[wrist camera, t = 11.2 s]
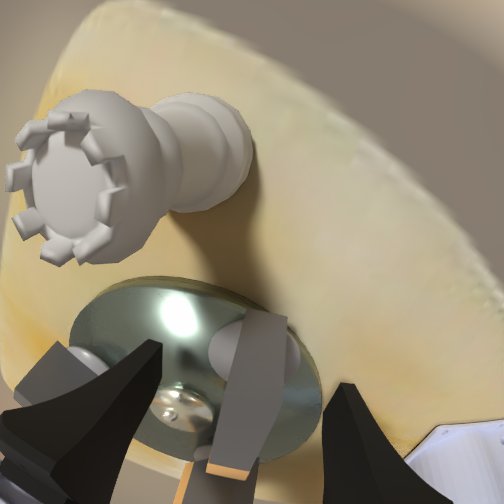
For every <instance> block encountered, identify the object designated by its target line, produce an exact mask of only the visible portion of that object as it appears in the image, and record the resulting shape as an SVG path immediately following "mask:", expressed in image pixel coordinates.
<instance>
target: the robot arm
mask: <svg viewBox="0 0 504 504" xmlns="http://www.w3.org/2000/svg"><path fill="white" fill-rule="evenodd" d="M162 359H163V343H161V342H158V341H154V340H151V339H147V340H146V341H144V342H143V343H142V344H141V345H140V346H138V347H137V348H136V349H135V350H134V351H132V352H131V353H130V354H129V355H127V356H126V357H125V358H123V359H122V360H121V361H119V362H118V363H117V364H115V365H114V366H112V367H111V368H110V369H108V370H107V371H105V372H104V373H102V374H100V375H99V376H97V377H96V378H94V379H93V380H91V381H89V382H87V383H86V384H84V385H82V386H80V387H78V388H76V389H74V390H72V391H70V392H68V393H65V394H63V395H61V396H58V397H56V398H53V399H51V400H47V401H44V402H41V403H38V404H35V405H31V406H27V407H22V408H17V409H12V410H6V411H4V412H3V413H2V414H1V415H0V451H1V452H2V454H3V455H4V456H5V458H4V459H3V461H1V460H0V504H110V500H111V496H112V493H113V490H114V487H115V484H116V481H117V478H118V474H119V472H120V469H121V466H122V463H123V460H124V458H125V455H126V453H127V450H128V447H129V445H130V443H131V441H132V438H133V436H134V434H135V433H136V431H137V429H138V427H139V425H140V423H141V422H142V420H143V418H144V416H145V414H146V412H147V410H148V409H149V407H150V405H151V403H152V401H153V399H154V397H155V395H156V392H157V390H158V387H159V384H160V382H161V379H162ZM322 446H323V463H324V494H323V504H504V419H503V420H496V421H488V422H479V423H468V424H455V425H440V426H438V427H436V428H435V429H434V430H433V431H432V432H431V433H430V434H429V435H428V436H427V437H426V438H425V439H424V440H423V441H422V442H421V443H420V444H419V445H418V446H417V447H416V448H415V449H414V450H413V451H412V452H411V453H410V454H409V455H408V456H407V457H406V458H405V459H404V460H403V459H402V457H401V456H400V455H399V454H398V453H397V451H396V450H395V449H394V448H393V446H392V445H391V444H390V442H389V441H388V439H387V438H386V436H385V435H384V434H383V432H382V431H381V429H380V427H379V426H378V424H377V423H376V421H375V419H374V418H373V416H372V414H371V413H370V411H369V409H368V407H367V406H366V404H365V402H364V400H363V398H362V397H361V395H360V393H359V391H358V390H357V388H356V386H355V384H349V383H342V382H341V383H340V384H339V386H338V388H337V390H336V391H335V393H334V395H333V397H332V398H331V400H330V402H329V403H328V405H327V407H326V408H325V410H324V412H323V421H322Z"/></svg>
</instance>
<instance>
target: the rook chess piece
mask: <svg viewBox="0 0 504 504" xmlns="http://www.w3.org/2000/svg"><path fill="white" fill-rule="evenodd" d="M14 141H15V142H16V144H17V146H18V147H19V148H20V150H21V151H24V150H27V152H26V155H25V158H24V161H20V162H16V163H12V164H8V165H6V192H15V191H18V190H21V189H23V192H24V197H25V202H26V206H27V210H25V211H22V212H20V213H18V214H17V215H15V216H14V217H13V218H12V220H13V222H14V224H15V226H16V228H17V230H18V232H19V234H20V236H21V238H22V240H23V241H25V240H27V239H29V238H30V237H32V236H34V235H36V234H38V233H40V234H41V235H42V236H43V237H44V238H45V239H46V240H47V242H45V243H43V244H42V245H41V253H40V259H42V260H45V261H47V262H49V263H51V264H53V265H55V266H58V267H61V266H62V265H64V264H65V263H66V262H68V261H69V260H71V259H72V258H74V257H75V258H76V259H77V261H78V263H79V266H80V265H82V264H83V263H85V262H88V263H90V264H108V263H119V262H120V261H122V260H124V259H125V258H127V257H128V256H130V255H131V254H133V253H135V252H136V251H138V250H139V249H141V248H142V247H143V246H144V244H145V242H146V241H147V239H148V237H149V236H150V234H151V233H152V231H153V229H154V228H155V226H156V225H157V223H158V221H159V220H160V218H162V217H163V216H165V215H166V214H167V212H168V211H169V210H172V211H176V212H179V213H189V212H198V211H207V210H209V209H210V208H212V207H214V206H216V205H217V204H219V203H221V202H223V201H225V200H226V199H228V198H230V197H231V196H233V195H234V194H235V192H236V191H237V190H238V188H239V187H240V186H241V185H242V183H243V182H244V181H245V180H246V178H247V176H248V173H249V169H250V165H251V162H252V158H253V147H252V139H251V131H250V129H249V128H248V126H247V124H246V123H245V121H244V119H243V118H242V116H241V114H240V113H239V111H238V110H237V109H235V108H234V107H232V106H231V105H230V104H228V103H227V102H225V101H224V100H222V99H221V98H220V97H215V96H210V95H205V94H200V93H192V92H187V93H183V94H178V95H174V96H170V97H166V98H164V99H162V100H161V101H160V102H158V103H157V104H155V105H154V106H153V107H151V108H150V109H149V108H146V107H139V106H135V105H133V104H132V103H130V102H129V101H127V100H126V99H125V98H123V97H122V96H120V95H119V94H117V93H116V92H113V91H102V90H88V89H86V90H83V91H81V92H79V93H77V94H74V95H72V96H70V97H68V98H66V99H64V100H61V101H60V102H59V103H58V104H57V105H56V107H55V108H54V109H53V110H48V116H47V117H46V118H45V119H44V120H31V121H28V122H27V123H26V125H25V126H24V127H23V129H22V130H21V131H20V133H19V134H18V135H17V137H16V138H15V140H14Z"/></svg>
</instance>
